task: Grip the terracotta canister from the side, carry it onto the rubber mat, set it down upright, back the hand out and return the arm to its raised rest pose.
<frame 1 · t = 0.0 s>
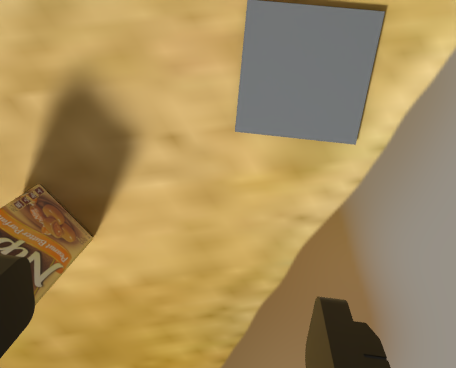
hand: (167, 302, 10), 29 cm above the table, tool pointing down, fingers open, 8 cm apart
rubber mat: (303, 75, 36), on the table
candy box: (57, 219, 44), on the table
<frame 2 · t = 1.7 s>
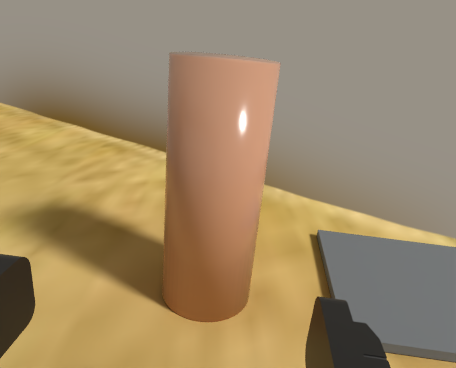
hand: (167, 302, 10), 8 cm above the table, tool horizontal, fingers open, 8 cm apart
rubber mat: (415, 291, 26), on the table
terracotta canister: (205, 291, 24), on the table
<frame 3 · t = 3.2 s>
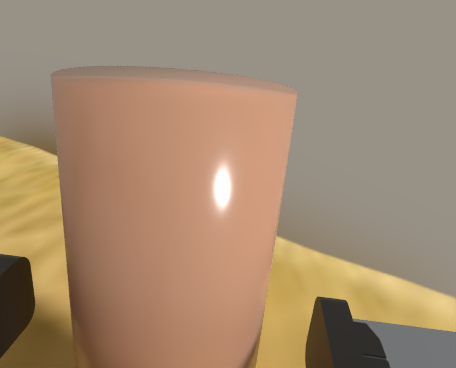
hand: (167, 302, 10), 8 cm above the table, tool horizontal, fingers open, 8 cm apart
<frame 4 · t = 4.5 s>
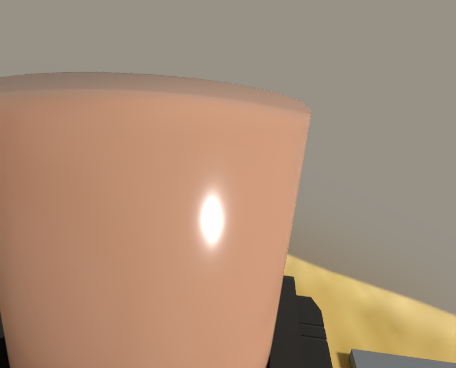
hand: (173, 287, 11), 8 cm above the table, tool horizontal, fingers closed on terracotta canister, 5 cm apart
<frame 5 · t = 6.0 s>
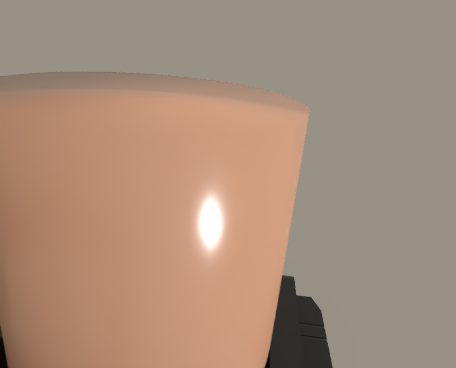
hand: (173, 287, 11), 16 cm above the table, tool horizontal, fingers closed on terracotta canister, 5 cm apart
when the fingers open (10 cm above the table, at t = 7.9 s): terracotta canister drops 1 cm, resting on rubber mat.
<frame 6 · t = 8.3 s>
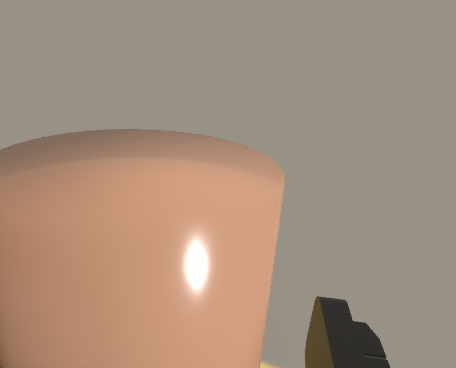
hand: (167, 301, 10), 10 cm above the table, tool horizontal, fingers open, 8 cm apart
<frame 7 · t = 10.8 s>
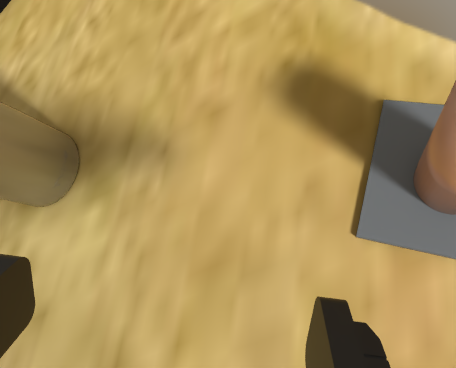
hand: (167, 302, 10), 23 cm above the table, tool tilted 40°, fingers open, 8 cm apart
rubber mat: (450, 180, 30), on the table
terracotta canister: (452, 180, 29), point 1 cm above the table, touching rubber mat
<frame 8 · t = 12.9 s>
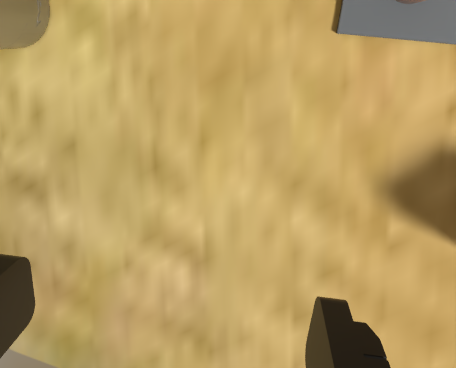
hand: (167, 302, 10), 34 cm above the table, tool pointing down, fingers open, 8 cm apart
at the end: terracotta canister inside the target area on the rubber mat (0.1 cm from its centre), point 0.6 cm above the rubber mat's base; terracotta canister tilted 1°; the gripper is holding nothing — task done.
